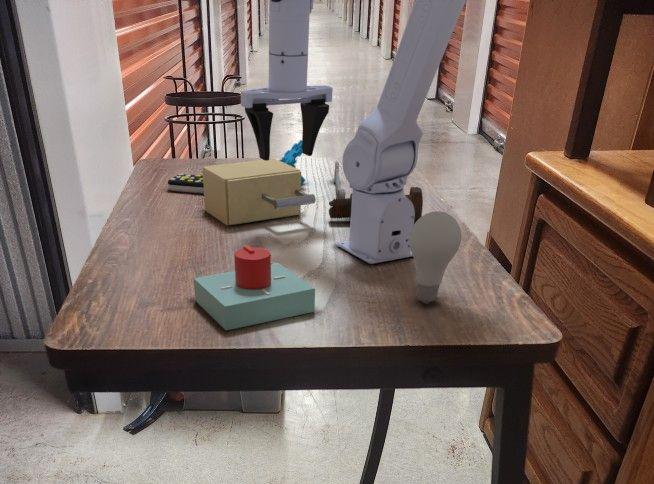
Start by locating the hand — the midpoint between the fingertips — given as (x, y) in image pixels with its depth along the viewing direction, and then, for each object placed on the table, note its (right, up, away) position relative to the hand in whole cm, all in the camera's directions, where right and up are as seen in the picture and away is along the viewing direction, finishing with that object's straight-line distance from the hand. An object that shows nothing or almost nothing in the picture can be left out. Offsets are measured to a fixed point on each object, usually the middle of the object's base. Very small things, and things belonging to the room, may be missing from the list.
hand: (286, 156), depth 104 cm
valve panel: (-4, -30, -21) cm, 37 cm away
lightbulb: (+18, -29, -20) cm, 40 cm away
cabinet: (-6, -4, +11) cm, 13 cm away
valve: (-4, -28, -23) cm, 36 cm away
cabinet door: (-2, -9, +5) cm, 10 cm away
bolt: (+15, -8, +7) cm, 18 cm away
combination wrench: (+10, +4, +20) cm, 23 cm away
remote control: (-16, +5, +22) cm, 28 cm away
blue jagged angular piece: (0, +7, +25) cm, 26 cm away
